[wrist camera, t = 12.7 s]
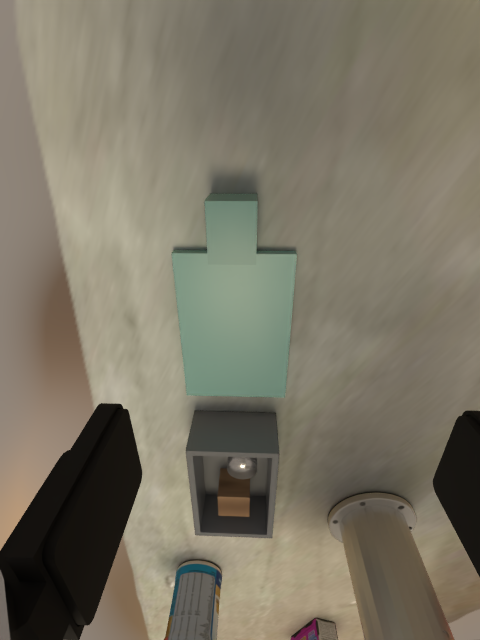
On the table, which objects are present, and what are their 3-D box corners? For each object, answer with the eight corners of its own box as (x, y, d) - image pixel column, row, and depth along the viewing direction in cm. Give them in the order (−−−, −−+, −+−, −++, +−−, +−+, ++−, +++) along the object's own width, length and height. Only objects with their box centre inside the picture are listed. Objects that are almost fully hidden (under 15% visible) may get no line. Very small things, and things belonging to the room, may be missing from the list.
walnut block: (249, 488, 46) (249, 516, 42) (221, 487, 46) (218, 515, 42) (250, 469, 44) (249, 497, 40) (220, 468, 44) (217, 496, 40)
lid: (284, 391, 38) (287, 416, 35) (188, 389, 39) (181, 414, 35) (300, 193, 28) (307, 201, 24) (167, 193, 28) (155, 200, 25)
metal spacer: (261, 450, 42) (262, 474, 39) (236, 457, 43) (234, 482, 40) (250, 432, 40) (249, 455, 37) (224, 440, 41) (221, 463, 38)
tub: (270, 494, 47) (272, 538, 42) (201, 492, 48) (195, 535, 42) (275, 412, 40) (279, 453, 35) (194, 410, 40) (185, 450, 35)
